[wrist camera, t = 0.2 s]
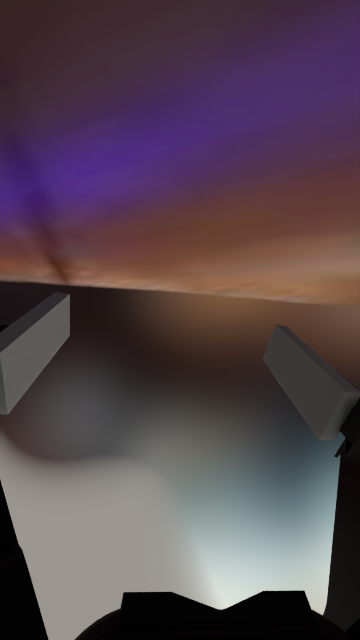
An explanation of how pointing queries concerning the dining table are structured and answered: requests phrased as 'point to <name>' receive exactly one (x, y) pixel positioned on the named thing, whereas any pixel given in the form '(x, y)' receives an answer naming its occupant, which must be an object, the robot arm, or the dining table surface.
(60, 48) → the dining table surface
